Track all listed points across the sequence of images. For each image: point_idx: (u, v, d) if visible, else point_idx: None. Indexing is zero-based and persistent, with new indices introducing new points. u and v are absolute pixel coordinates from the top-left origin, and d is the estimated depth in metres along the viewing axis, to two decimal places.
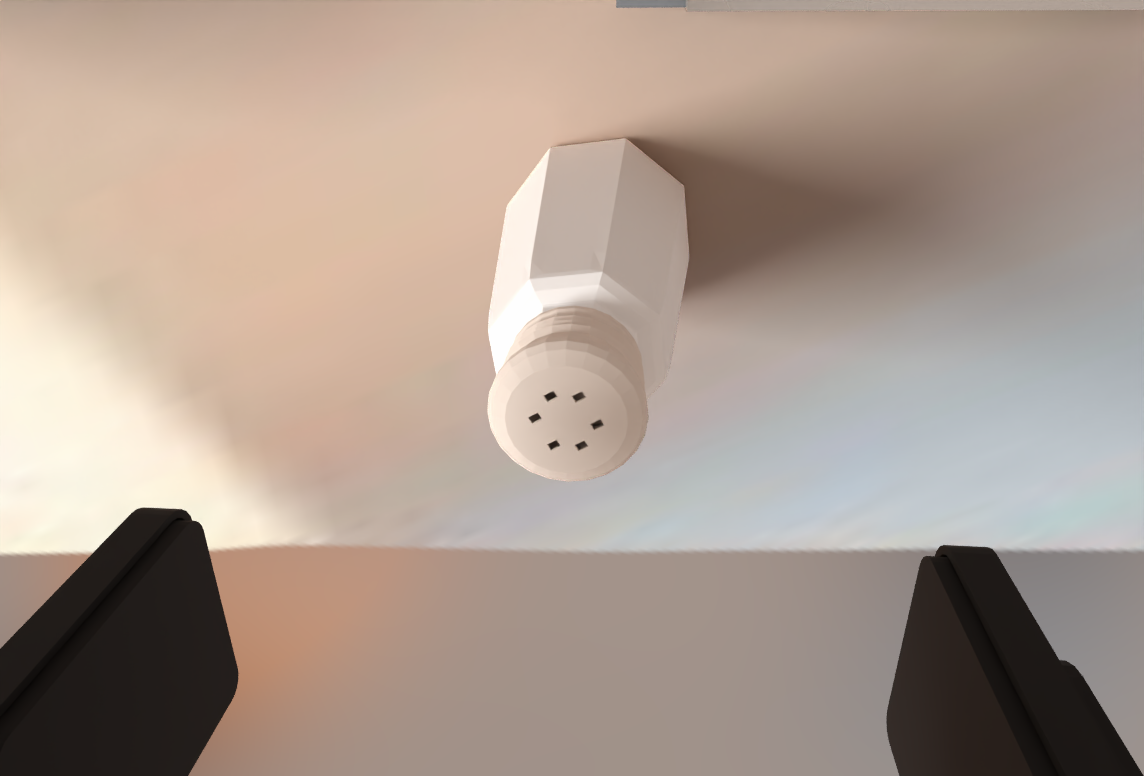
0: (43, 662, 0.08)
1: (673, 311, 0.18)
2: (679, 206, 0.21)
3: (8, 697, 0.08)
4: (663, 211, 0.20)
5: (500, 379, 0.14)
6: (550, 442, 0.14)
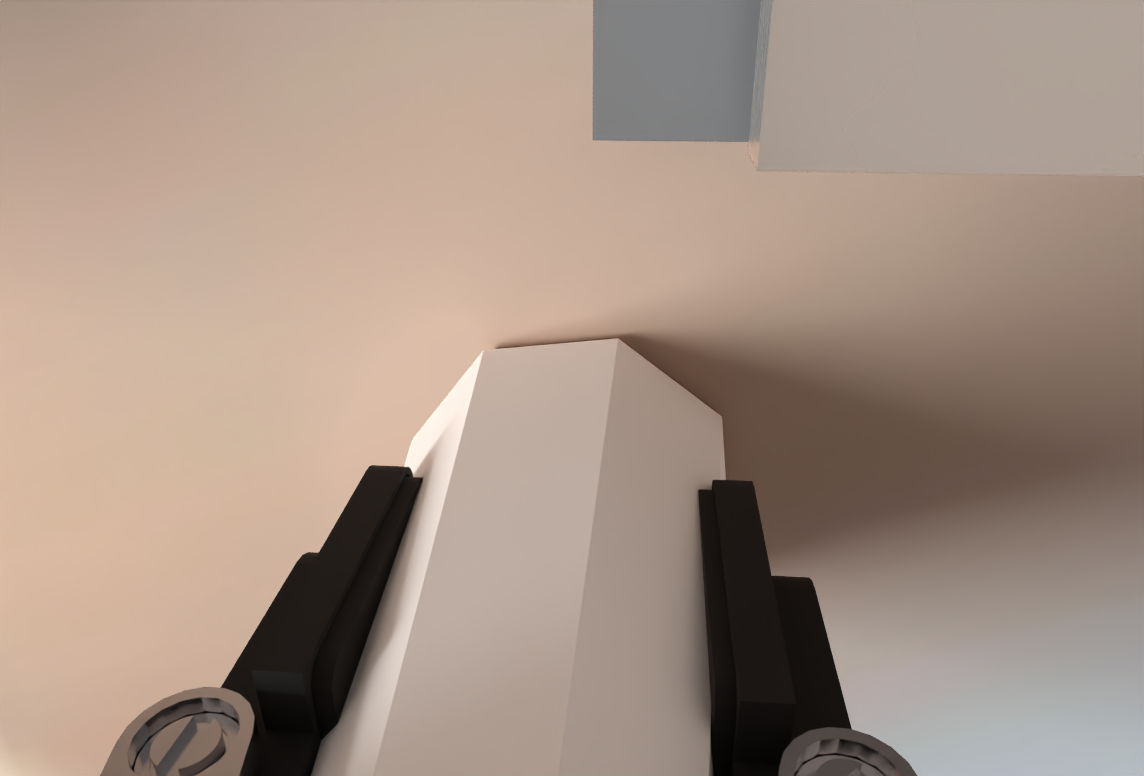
0: (344, 593, 0.09)
1: None
2: None
3: (328, 621, 0.09)
4: (689, 522, 0.10)
5: None
6: None
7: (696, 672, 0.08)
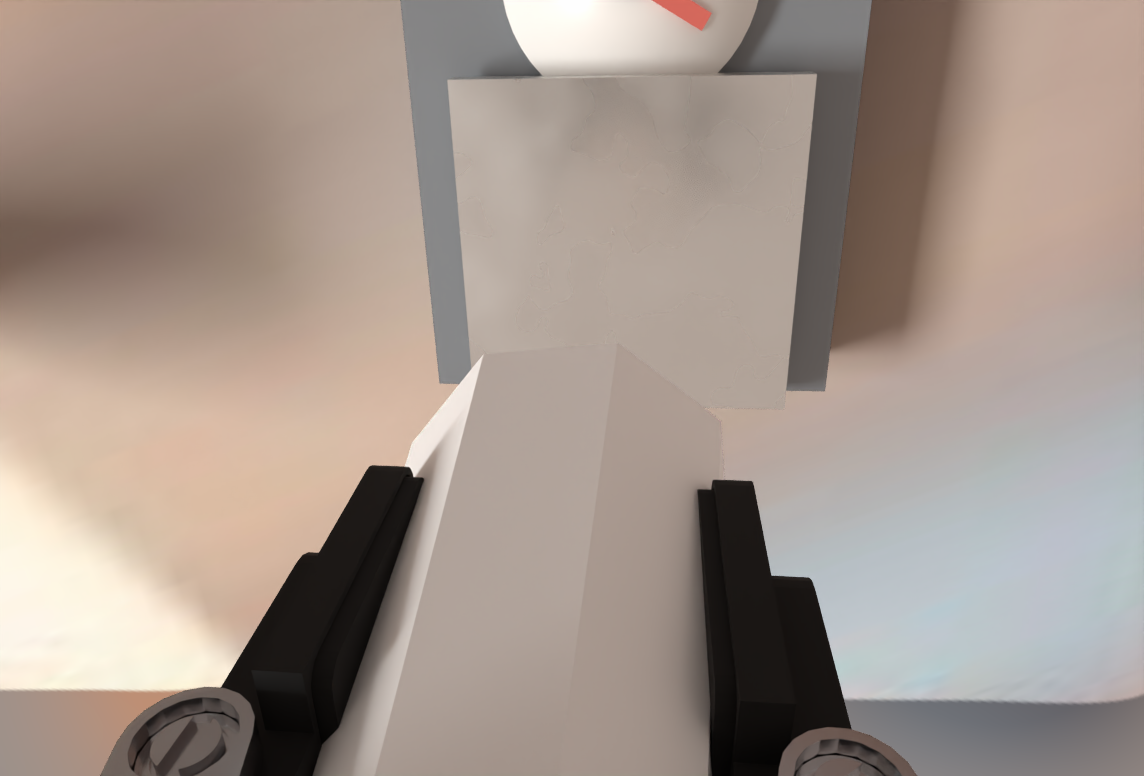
0: (344, 593, 0.09)
1: None
2: None
3: (329, 620, 0.09)
4: (688, 526, 0.10)
5: None
6: None
7: (695, 677, 0.08)
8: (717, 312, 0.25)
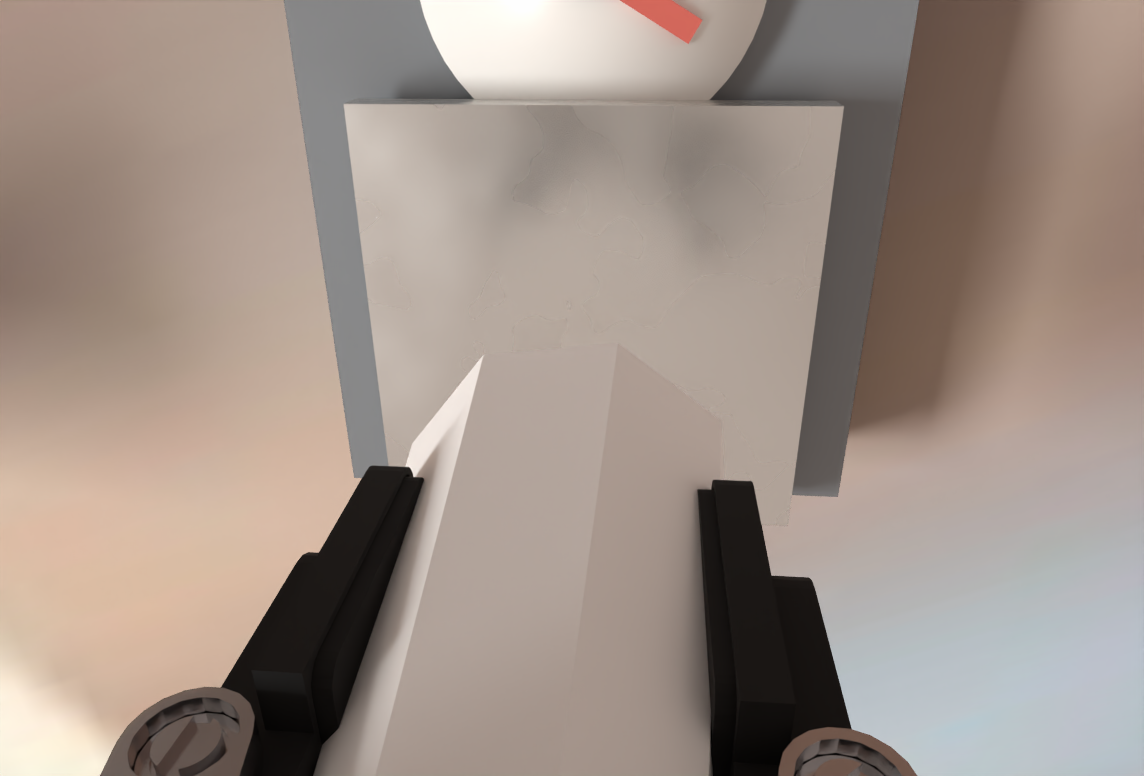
0: (344, 593, 0.09)
1: None
2: None
3: (328, 621, 0.09)
4: (689, 527, 0.10)
5: None
6: None
7: (696, 678, 0.08)
8: (704, 407, 0.19)
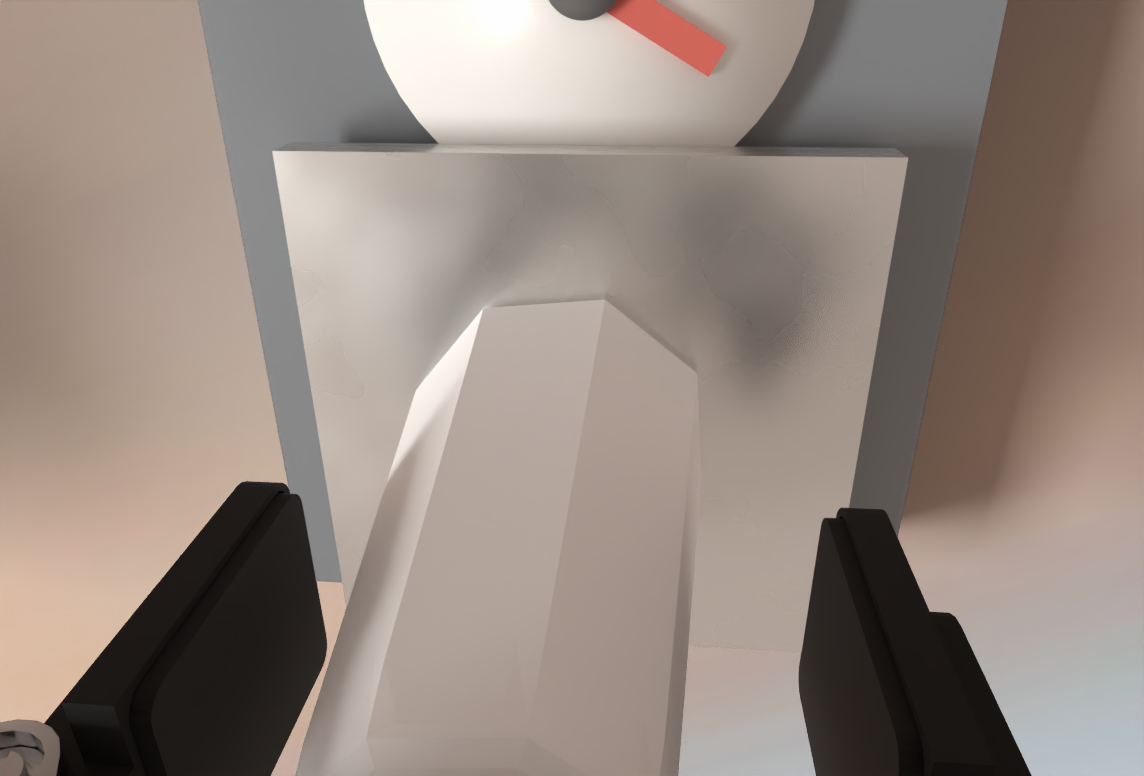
0: (181, 619, 0.09)
1: (679, 688, 0.10)
2: (690, 428, 0.13)
3: (156, 648, 0.08)
4: (664, 455, 0.12)
5: None
6: None
7: (665, 571, 0.10)
8: (725, 517, 0.16)
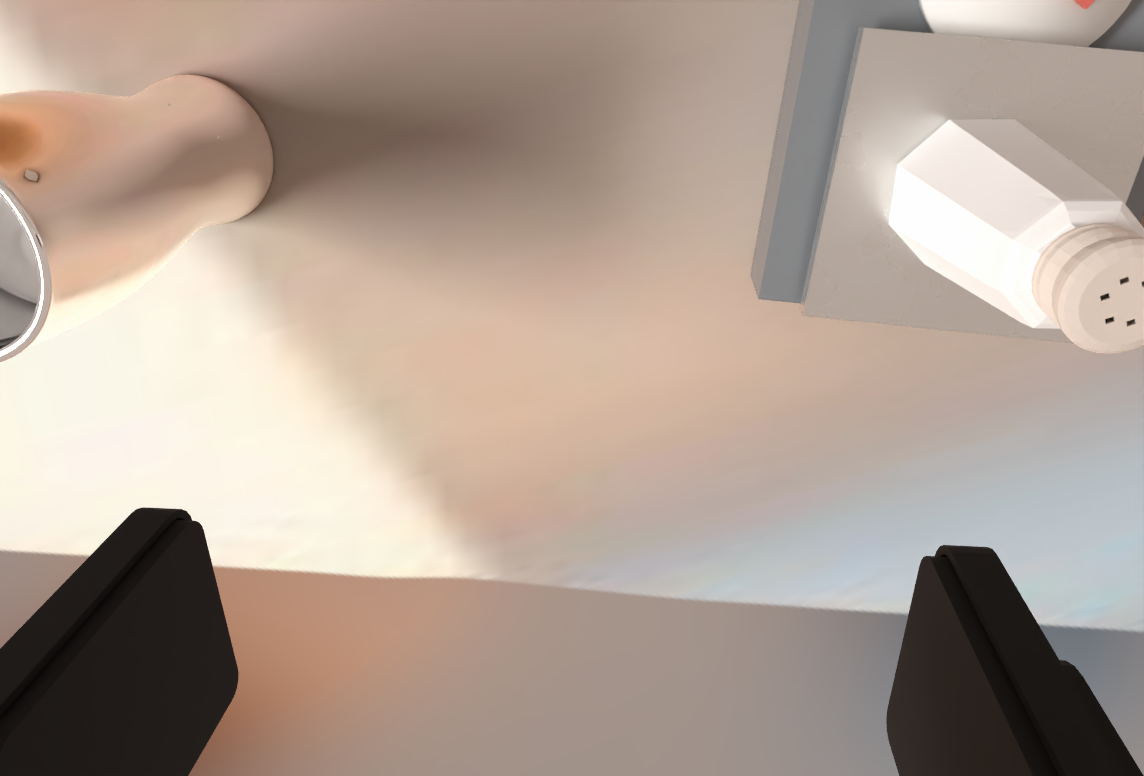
0: (43, 662, 0.08)
1: None
2: None
3: (8, 696, 0.08)
4: None
5: (1086, 264, 0.19)
6: (1108, 317, 0.19)
7: None
8: None
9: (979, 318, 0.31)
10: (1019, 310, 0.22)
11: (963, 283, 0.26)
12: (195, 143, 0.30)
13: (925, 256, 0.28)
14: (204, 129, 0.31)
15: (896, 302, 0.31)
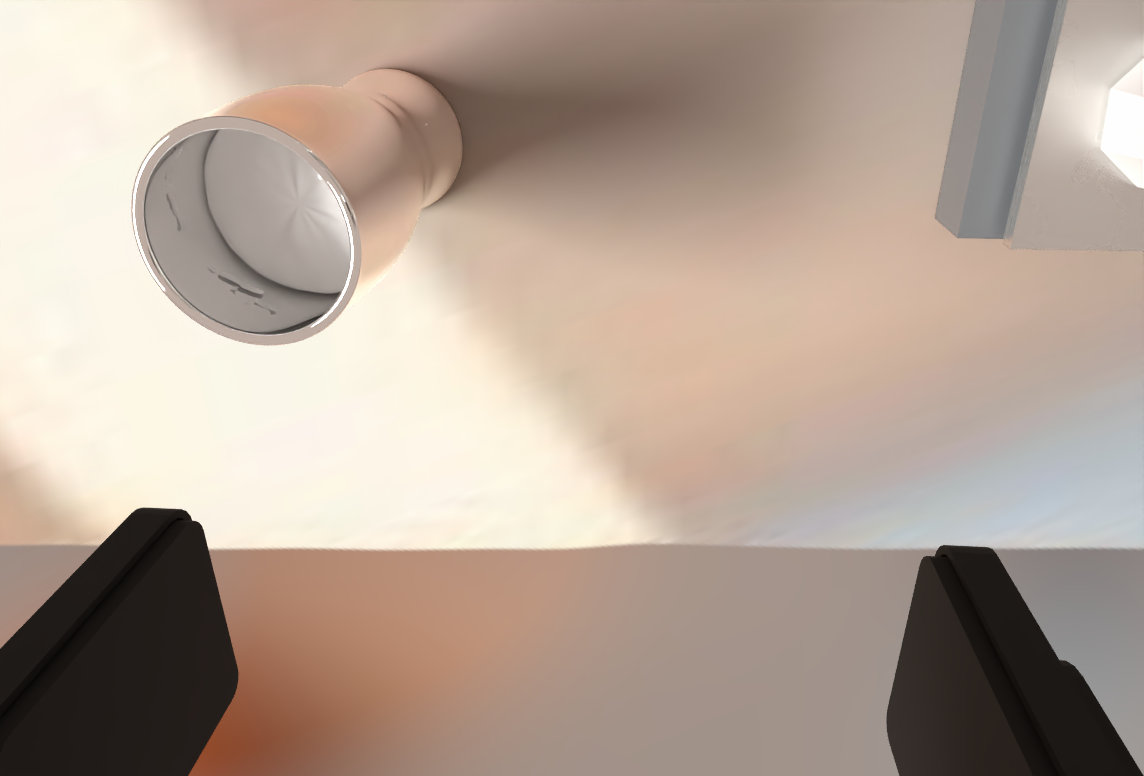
0: (43, 662, 0.08)
1: None
2: None
3: (8, 696, 0.08)
4: None
5: None
6: None
7: None
8: None
9: None
10: None
11: None
12: (416, 129, 0.31)
13: None
14: (416, 117, 0.32)
15: (1105, 227, 0.31)
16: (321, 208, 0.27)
